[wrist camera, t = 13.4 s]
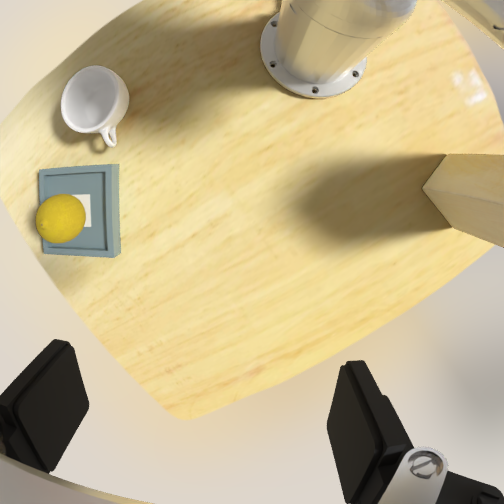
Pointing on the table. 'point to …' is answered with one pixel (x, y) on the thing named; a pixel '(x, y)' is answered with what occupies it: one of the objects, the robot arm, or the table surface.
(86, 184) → the tray
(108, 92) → the teacup
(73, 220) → the lemon
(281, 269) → the table surface
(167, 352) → the table surface
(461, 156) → the beige rectangular block
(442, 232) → the table surface
